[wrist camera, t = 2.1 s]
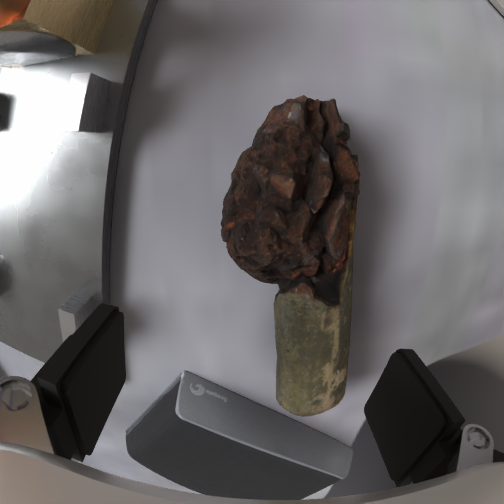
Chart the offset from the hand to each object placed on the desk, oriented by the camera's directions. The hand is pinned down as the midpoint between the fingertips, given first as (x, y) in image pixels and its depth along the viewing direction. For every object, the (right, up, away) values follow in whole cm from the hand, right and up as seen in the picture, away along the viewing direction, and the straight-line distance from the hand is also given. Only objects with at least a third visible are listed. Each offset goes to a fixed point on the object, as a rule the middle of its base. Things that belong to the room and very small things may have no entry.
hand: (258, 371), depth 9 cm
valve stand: (-15, +8, +7) cm, 18 cm away
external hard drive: (-1, -14, +15) cm, 21 cm away
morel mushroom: (+2, +3, +9) cm, 10 cm away
